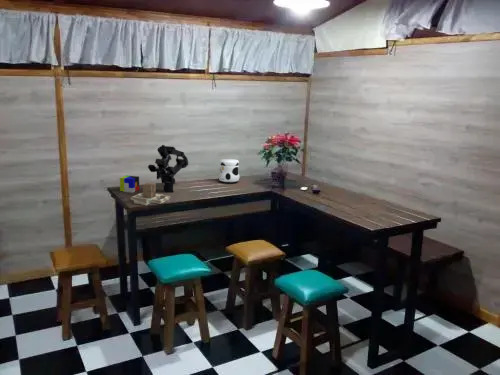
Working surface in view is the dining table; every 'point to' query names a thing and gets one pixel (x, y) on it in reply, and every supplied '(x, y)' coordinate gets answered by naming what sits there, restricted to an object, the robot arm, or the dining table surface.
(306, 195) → the dining table surface
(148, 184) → the walnut block
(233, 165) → the milk container
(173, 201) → the dining table surface
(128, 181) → the puzzle toy
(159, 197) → the board
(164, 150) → the robot arm
